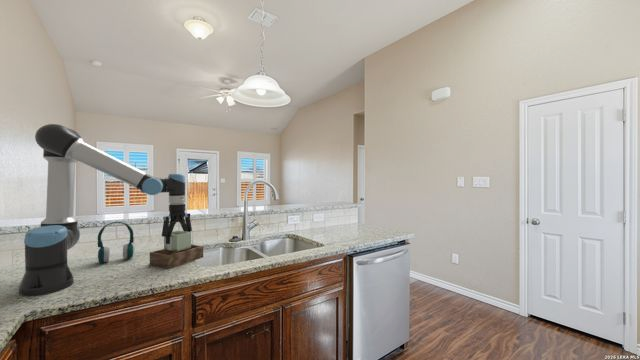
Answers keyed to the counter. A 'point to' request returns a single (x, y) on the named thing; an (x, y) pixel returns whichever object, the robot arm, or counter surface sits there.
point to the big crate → (175, 256)
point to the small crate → (179, 240)
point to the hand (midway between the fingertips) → (177, 247)
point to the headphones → (104, 251)
